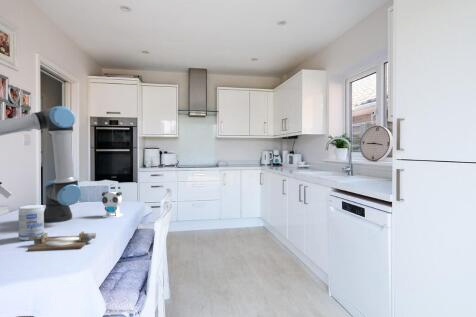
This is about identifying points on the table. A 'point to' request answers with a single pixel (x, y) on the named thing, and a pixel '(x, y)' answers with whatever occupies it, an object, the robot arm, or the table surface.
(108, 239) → the table surface
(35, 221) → the supplement tub
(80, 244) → the shaft board
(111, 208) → the panda figurine
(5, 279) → the table surface
